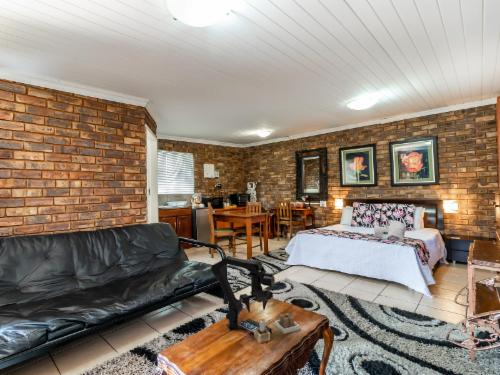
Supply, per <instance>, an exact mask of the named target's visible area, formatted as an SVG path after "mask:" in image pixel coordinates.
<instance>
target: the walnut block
mask: <svg viewBox="0 0 500 375" xmlns="http://www.w3.org/2000/svg"><path fill="white" fill-rule="evenodd" d="M279 320H280V325H281V326H282V327H283V328H284V329H285V328H289V327H293V326H294V321H295V317H294V316H293V315H292V314H290V312H287V313H284V314H283V313H281V314H280V315H279Z"/></svg>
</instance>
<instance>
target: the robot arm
mask: <svg viewBox="0 0 500 375" xmlns="http://www.w3.org/2000/svg"><path fill="white" fill-rule="evenodd" d="M227 265H230V266H233V267H238V268H242V269H245V270H246V271H247V272H248V273H247V276H249V277H250V284H249V285H250V289H251V290H250V292H249V293H250V295H248V294H247V293H244V294H239V297H238V298H239V299H238V298H236V295H235V293H234V291H233V288H232V287H231V284H230V282H229V280H228V278H227V273H226V272H227V271H226V267H227ZM210 272H211V273H212V275H213V276H214V277H215V278H216V279H218V281H219V284H220V286H221V288H222V292H223V293H224V295H225V296H224V297H225V298H226V300H227V306H228V307H227V308H228V313H227V314H225V317H226V320H228V324H226V327H227V328H228V330H229V331H233V330H234V331H235V330H238V329H241V326H240V325H239V315H241V314H242V312H243V311H244V310H243V309H244V305H245V307H246V310H247V312H248V314H250V313H251V307H250V304H251V302H250V300H252V299H255V300H256V301H257V302H258V303H262V309H263V311H265V310H266V307H267V303H268V302H269V300H271V299H272V298H274V293H273V292H272V291H271V290H270V289H264V290H263V286H265V287H274V286H275V282H276V278H275V275H274V273H271V272H270V273H269V272H267V271H266V269H265V267H264V265H263V264H262V262H261V261H260V260H257V259H256V260H254V259H252V260H246V259H242V258H238V257H234V256H231V255H227V256H225V257H223V258H222V259H221V260H220V261H218V262H216V263H214V264H212V265H211V267H210ZM239 326H240V327H239Z"/></svg>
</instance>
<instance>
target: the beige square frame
mask: <svg viewBox="0 0 500 375" xmlns="http://www.w3.org/2000/svg"><path fill="white" fill-rule="evenodd" d="M253 332H254V334H253V335H254V338H255V340H256V341H257V342H258V344H261V343H262V344H263V343H264V342H269V341H271V332H270V331H269V330H268V329H267V328H266V327H265V333H263V334H260V328H256V329H254V330H253Z"/></svg>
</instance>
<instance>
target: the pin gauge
mask: <svg viewBox="0 0 500 375" xmlns="http://www.w3.org/2000/svg"><path fill="white" fill-rule="evenodd" d="M258 322H259V325H258V326H259V328H260V334H263V333H265V328H266V325H265V322H266V321H265V319H264V318H260V319H259V321H258ZM259 328H258V329H259Z"/></svg>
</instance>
